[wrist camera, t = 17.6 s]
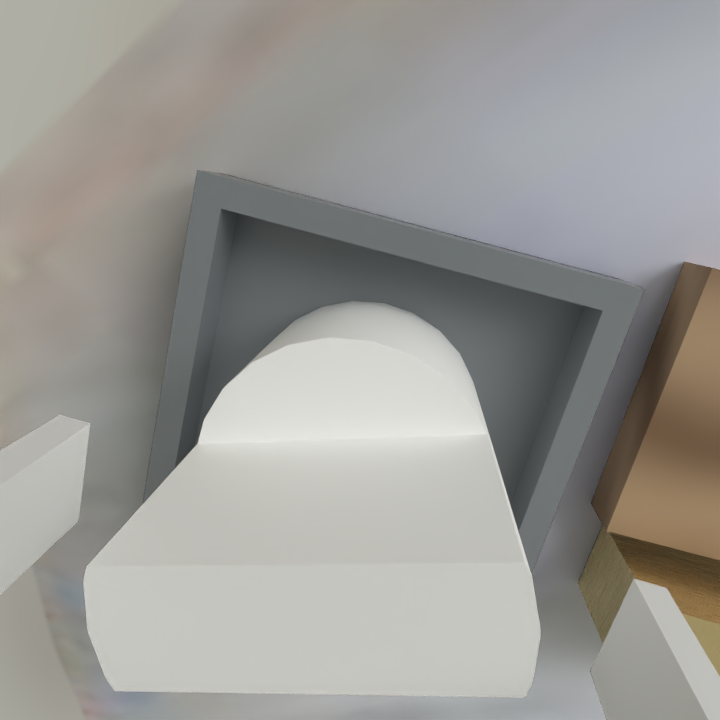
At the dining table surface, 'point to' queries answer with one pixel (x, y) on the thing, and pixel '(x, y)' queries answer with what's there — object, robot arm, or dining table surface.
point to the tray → (405, 291)
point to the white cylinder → (327, 532)
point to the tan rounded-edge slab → (672, 430)
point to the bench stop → (659, 567)
